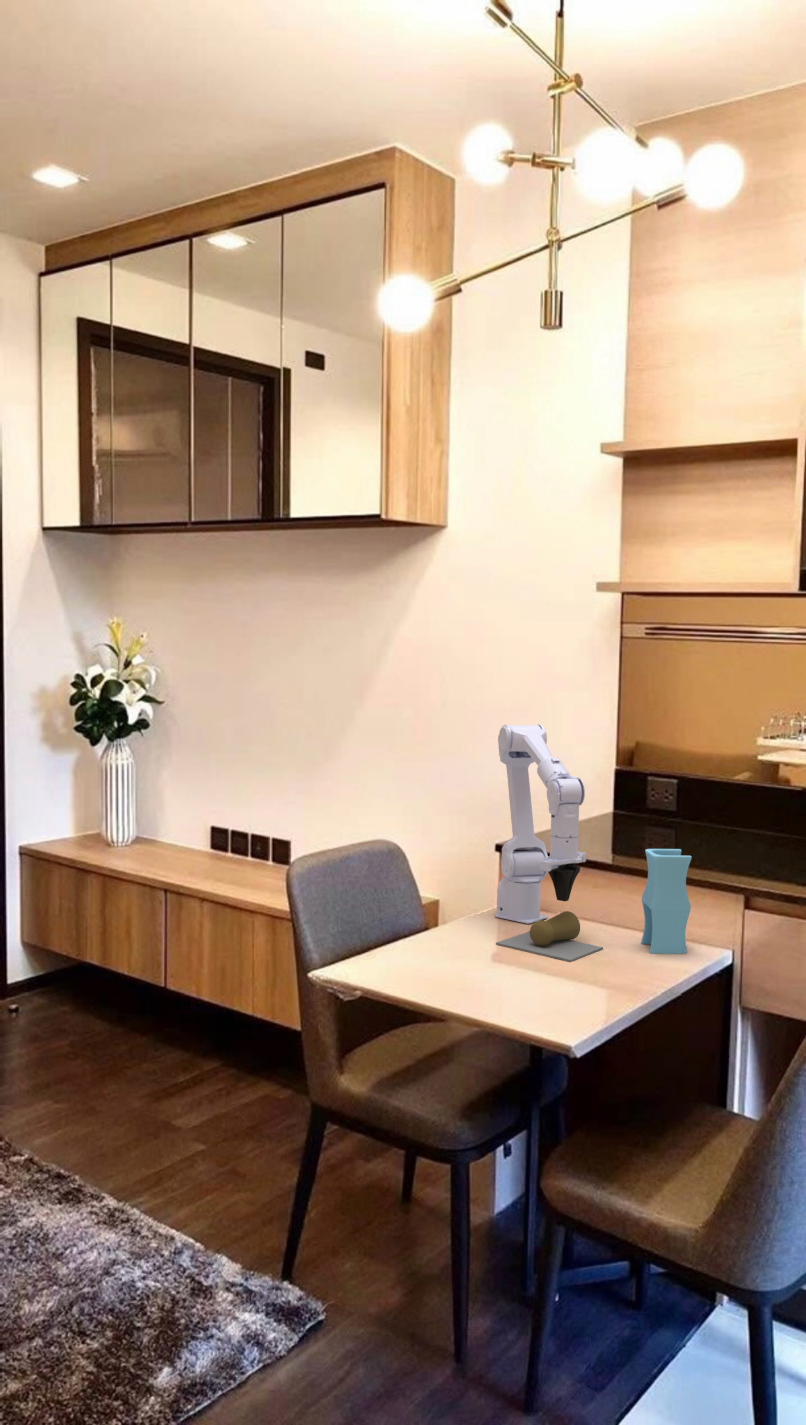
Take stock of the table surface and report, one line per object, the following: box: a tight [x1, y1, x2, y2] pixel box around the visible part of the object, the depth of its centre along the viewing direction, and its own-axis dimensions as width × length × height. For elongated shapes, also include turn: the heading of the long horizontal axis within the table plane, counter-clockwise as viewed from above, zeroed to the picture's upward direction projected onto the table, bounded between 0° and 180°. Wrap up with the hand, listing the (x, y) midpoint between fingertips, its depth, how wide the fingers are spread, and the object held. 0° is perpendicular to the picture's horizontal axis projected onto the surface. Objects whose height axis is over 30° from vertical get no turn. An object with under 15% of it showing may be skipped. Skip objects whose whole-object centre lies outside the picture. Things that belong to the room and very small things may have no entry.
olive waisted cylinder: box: [529, 910, 581, 946], centre depth 226 cm, size 6×6×11 cm
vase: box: [640, 848, 692, 955], centre depth 224 cm, size 8×8×20 cm
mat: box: [495, 930, 604, 963], centre depth 224 cm, size 18×12×1 cm
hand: (562, 900), depth 227 cm, fingers closed
